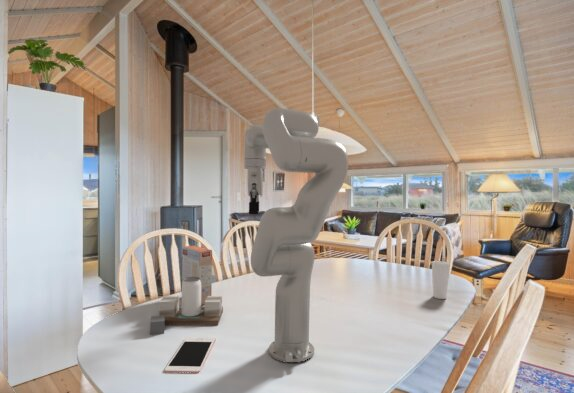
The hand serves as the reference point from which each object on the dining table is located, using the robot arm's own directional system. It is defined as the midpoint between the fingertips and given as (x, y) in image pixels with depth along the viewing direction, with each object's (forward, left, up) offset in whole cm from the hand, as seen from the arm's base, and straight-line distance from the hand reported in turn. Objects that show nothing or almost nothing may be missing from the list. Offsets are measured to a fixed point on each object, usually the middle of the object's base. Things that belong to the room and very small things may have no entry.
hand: (254, 212), depth 120 cm
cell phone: (-29, +15, -37) cm, 49 cm away
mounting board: (-4, +21, -36) cm, 42 cm away
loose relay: (-14, +29, -36) cm, 49 cm away
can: (-4, +21, -35) cm, 41 cm away
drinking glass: (+18, -78, -36) cm, 88 cm away
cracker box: (+14, +23, -36) cm, 45 cm away
